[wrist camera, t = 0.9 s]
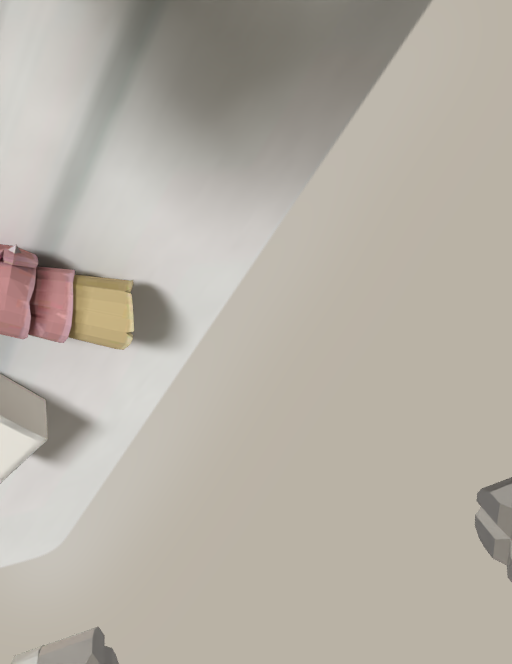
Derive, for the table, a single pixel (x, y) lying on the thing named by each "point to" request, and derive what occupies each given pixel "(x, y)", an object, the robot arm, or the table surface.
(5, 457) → the off-white bevelled cube
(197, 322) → the table surface
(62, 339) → the scroll
